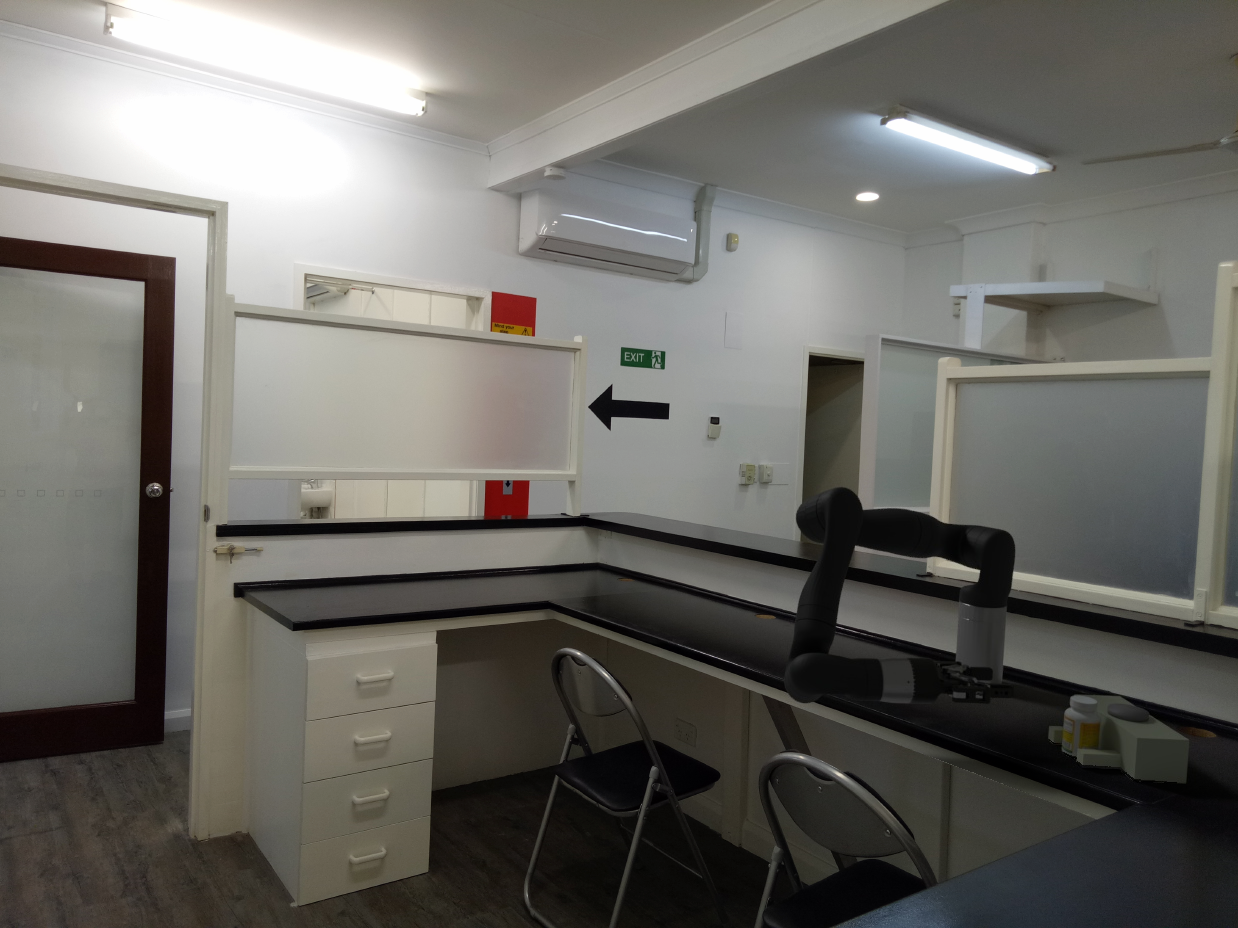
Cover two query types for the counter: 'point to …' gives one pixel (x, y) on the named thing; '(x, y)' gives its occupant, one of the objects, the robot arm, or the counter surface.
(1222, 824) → the counter surface
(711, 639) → the counter surface
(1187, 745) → the olive footed block
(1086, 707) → the supplement bottle
